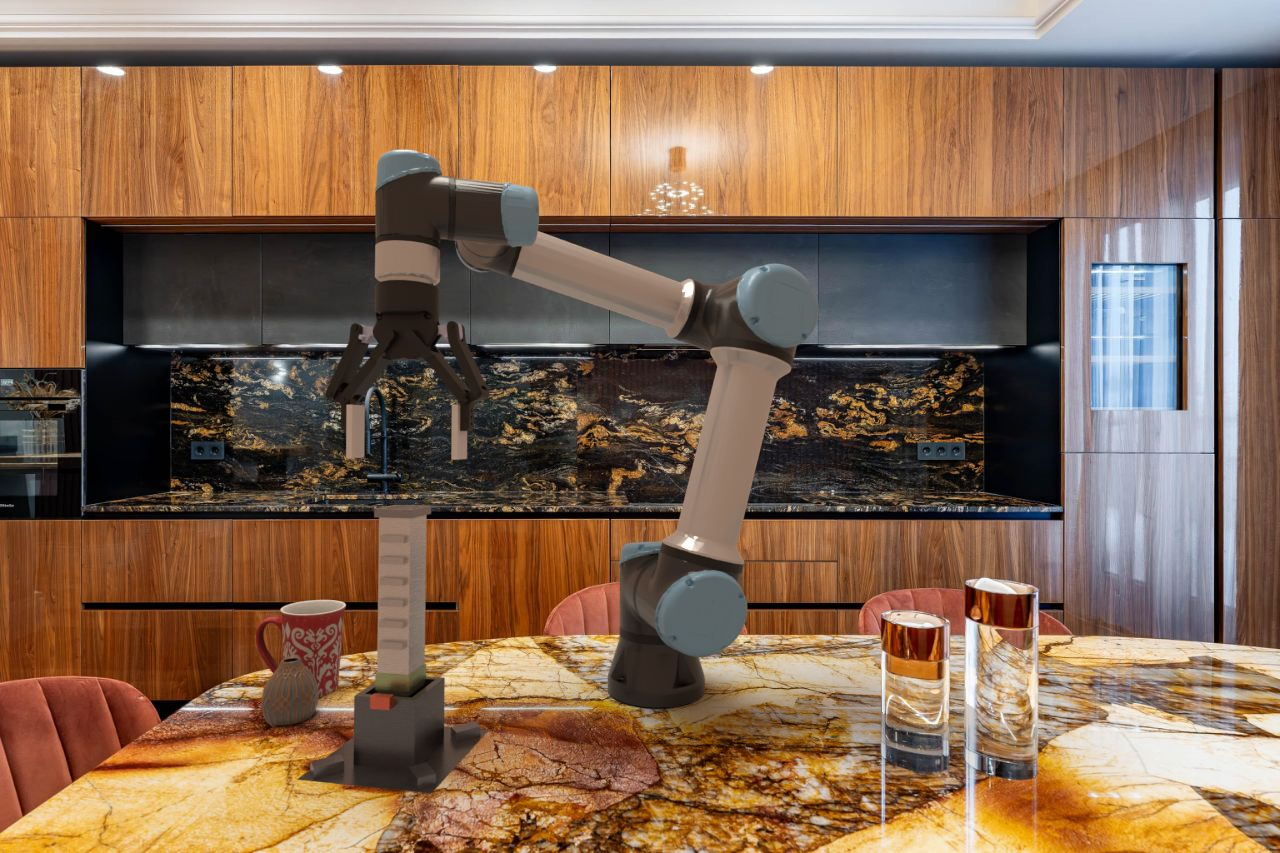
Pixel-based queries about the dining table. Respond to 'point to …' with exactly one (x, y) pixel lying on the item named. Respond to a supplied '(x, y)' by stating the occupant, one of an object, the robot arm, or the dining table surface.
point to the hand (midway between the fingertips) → (406, 458)
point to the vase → (289, 694)
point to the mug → (309, 639)
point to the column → (401, 599)
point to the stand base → (398, 742)
